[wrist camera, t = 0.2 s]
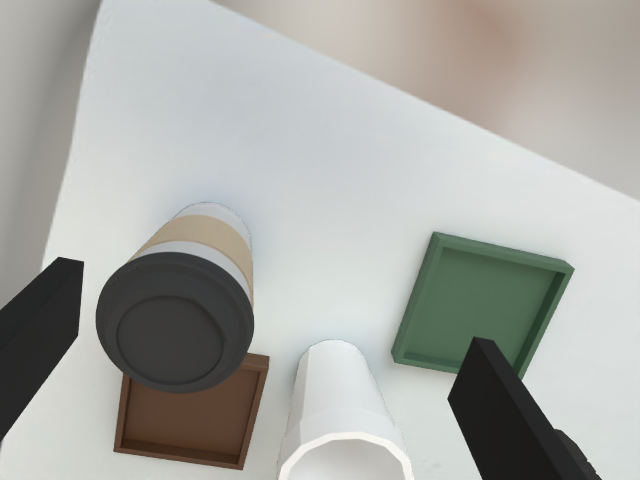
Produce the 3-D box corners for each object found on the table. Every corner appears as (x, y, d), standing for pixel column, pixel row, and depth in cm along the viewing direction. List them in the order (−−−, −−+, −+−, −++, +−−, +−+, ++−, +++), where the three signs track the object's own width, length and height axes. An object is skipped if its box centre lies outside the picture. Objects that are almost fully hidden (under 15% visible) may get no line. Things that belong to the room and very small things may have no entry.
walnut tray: (132, 332, 43) (127, 343, 42) (269, 356, 45) (268, 367, 43) (119, 438, 47) (113, 452, 46) (244, 457, 49) (242, 470, 48)
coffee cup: (194, 308, 43) (147, 437, 29) (130, 223, 39) (42, 321, 26) (285, 260, 41) (281, 370, 28) (226, 168, 38) (188, 240, 24)
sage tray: (433, 231, 41) (439, 238, 40) (564, 260, 43) (575, 268, 41) (390, 351, 45) (394, 362, 44) (511, 374, 47) (519, 385, 46)
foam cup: (339, 423, 48) (354, 551, 36) (261, 379, 46) (250, 499, 34) (402, 357, 46) (441, 470, 34) (323, 306, 43) (335, 408, 31)
